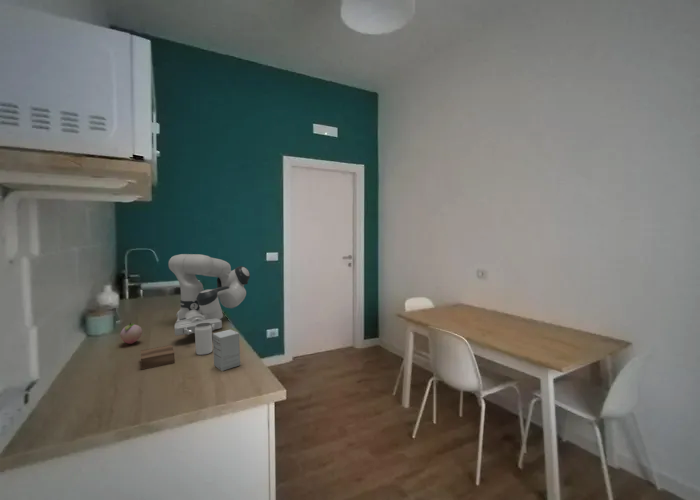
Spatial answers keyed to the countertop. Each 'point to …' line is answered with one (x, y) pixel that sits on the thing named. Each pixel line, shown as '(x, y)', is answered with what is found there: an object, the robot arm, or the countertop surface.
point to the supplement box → (226, 349)
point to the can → (203, 338)
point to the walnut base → (157, 357)
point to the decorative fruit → (131, 333)
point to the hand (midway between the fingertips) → (201, 330)
